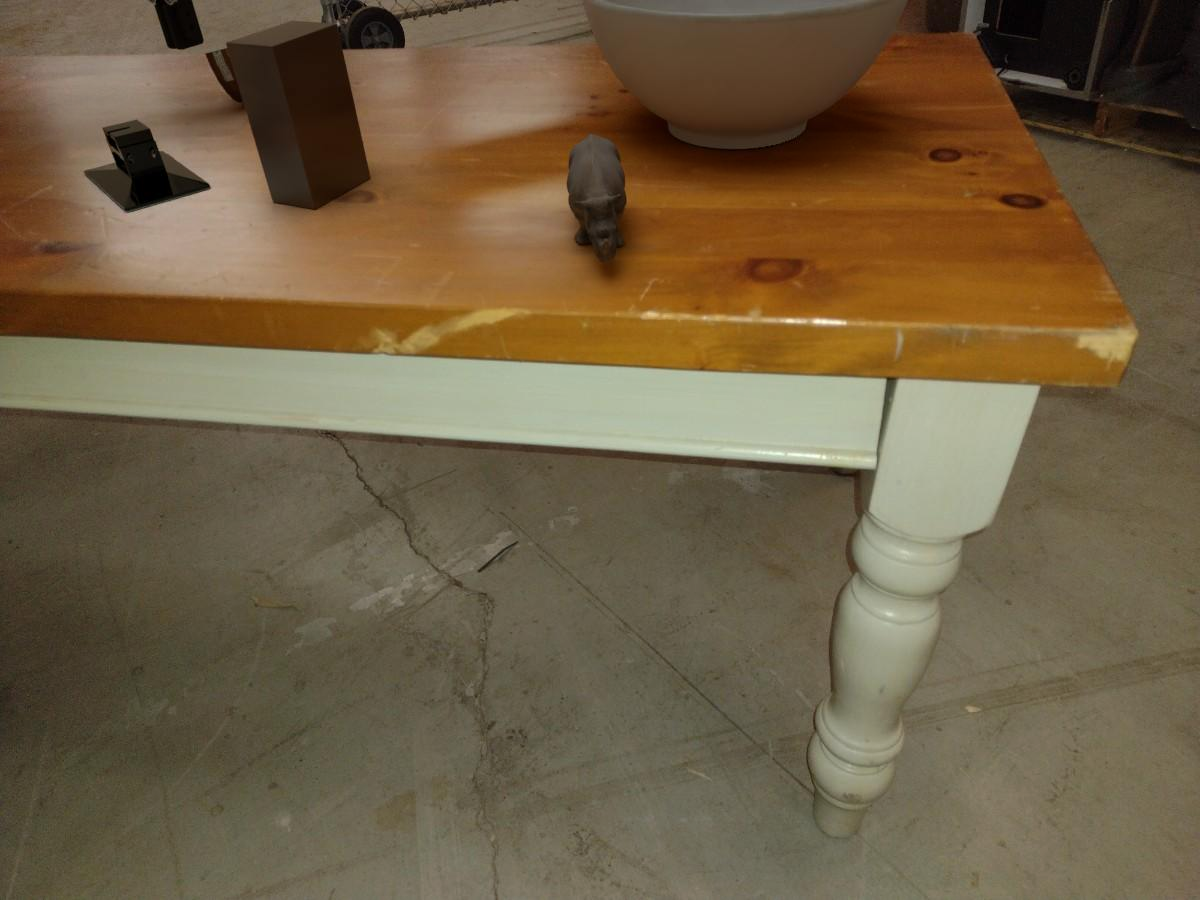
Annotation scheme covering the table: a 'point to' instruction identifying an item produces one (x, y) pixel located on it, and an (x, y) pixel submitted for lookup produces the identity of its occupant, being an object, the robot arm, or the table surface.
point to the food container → (225, 72)
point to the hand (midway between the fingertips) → (186, 45)
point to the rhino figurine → (597, 194)
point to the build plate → (141, 170)
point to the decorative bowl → (740, 61)
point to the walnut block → (301, 111)
